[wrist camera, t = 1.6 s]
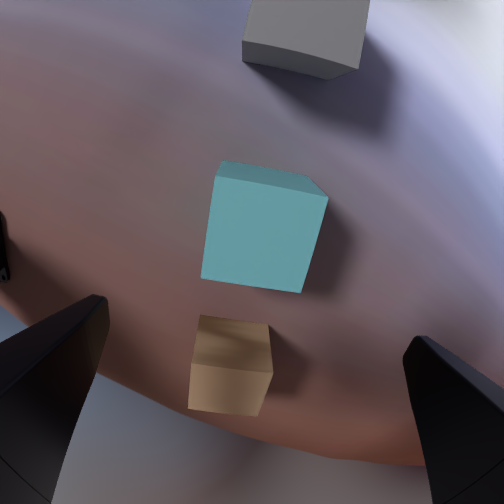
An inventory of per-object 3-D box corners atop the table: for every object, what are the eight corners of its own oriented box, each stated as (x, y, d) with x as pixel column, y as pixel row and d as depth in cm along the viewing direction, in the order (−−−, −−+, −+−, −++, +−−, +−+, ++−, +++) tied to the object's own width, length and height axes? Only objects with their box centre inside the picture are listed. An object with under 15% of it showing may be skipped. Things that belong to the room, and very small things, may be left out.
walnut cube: (195, 360, 24) (187, 408, 19) (200, 314, 22) (191, 363, 17) (254, 368, 24) (257, 416, 20) (267, 323, 22) (273, 373, 18)
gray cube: (242, 61, 15) (242, 40, 10) (258, -10, 12) (264, -48, 8) (327, 80, 15) (358, 69, 11) (341, 10, 13) (372, -18, 8)
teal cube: (210, 238, 19) (200, 278, 15) (223, 159, 17) (215, 175, 13) (287, 250, 20) (300, 292, 15) (306, 175, 18) (328, 197, 13)
